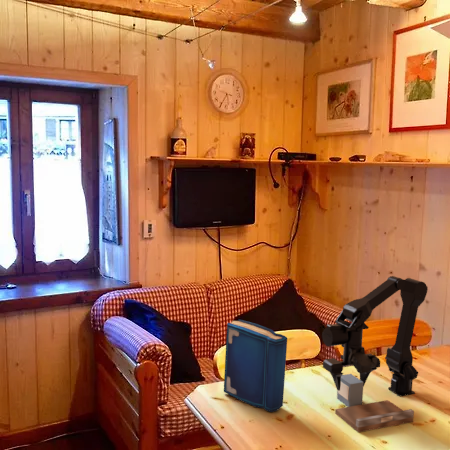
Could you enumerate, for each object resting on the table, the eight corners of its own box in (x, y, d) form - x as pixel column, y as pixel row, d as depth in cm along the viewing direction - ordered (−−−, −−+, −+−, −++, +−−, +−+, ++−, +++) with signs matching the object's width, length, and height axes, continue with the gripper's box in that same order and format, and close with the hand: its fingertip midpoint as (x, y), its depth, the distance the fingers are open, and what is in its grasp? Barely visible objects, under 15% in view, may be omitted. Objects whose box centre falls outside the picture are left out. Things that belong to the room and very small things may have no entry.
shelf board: (387, 404, 170) (388, 394, 169) (413, 421, 158) (414, 411, 158) (335, 413, 162) (335, 402, 162) (358, 432, 151) (358, 421, 151)
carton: (349, 396, 175) (350, 373, 174) (362, 405, 168) (363, 382, 167) (336, 398, 173) (337, 375, 172) (348, 408, 167) (349, 384, 166)
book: (287, 409, 165) (290, 333, 162) (273, 416, 159) (276, 338, 156) (236, 387, 179) (238, 317, 176) (222, 394, 174) (224, 322, 171)
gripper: (342, 354, 158) (339, 403, 159) (392, 347, 164) (389, 394, 166) (323, 342, 168) (320, 388, 170) (371, 336, 175) (368, 380, 176)
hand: (350, 388), depth 170 cm, fingers open, 9 cm apart
